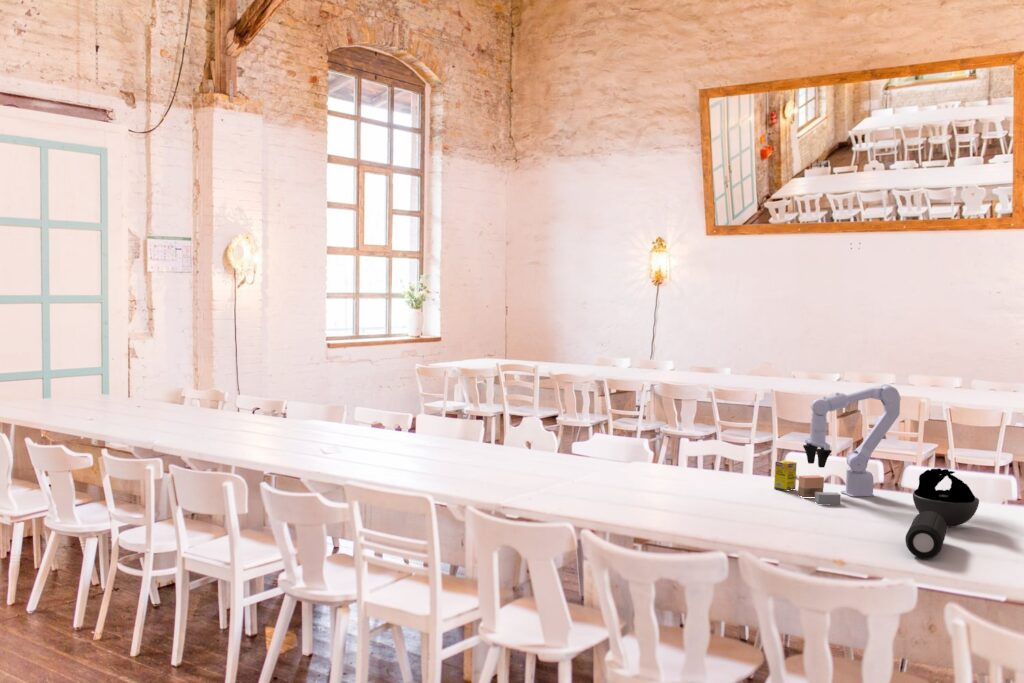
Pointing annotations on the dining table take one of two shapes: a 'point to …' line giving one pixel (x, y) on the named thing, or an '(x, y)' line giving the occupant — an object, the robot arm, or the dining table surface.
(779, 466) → the supplement box
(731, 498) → the dining table surface
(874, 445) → the robot arm
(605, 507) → the dining table surface
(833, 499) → the slate-grey brick
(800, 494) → the walnut brick
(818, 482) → the terracotta brick
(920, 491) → the coal bowl
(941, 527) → the portable speaker
